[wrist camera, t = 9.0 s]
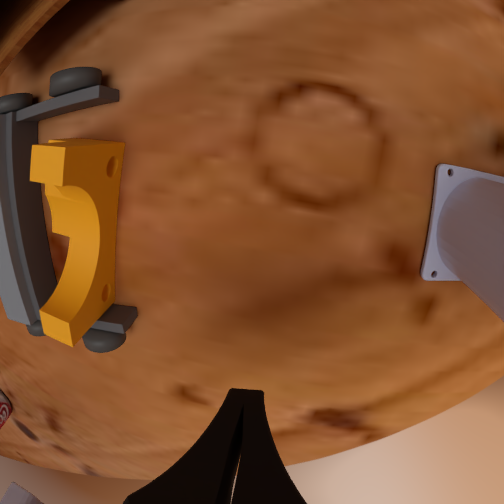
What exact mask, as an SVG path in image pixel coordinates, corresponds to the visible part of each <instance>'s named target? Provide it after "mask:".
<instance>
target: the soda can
mask: <svg viewBox="0 0 504 504" xmlns="http://www.w3.org/2000/svg"><path fill="white" fill-rule="evenodd" d="M11 413H12V409H11V406H10V402H9V401H8V399H7V398H6V396H5V395H4V394H3V393H2V392H1V391H0V429H1V427H2V426H3V425H4V423H5V422H6V421H7V419H8V418H9V416H10V414H11Z"/></svg>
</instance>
